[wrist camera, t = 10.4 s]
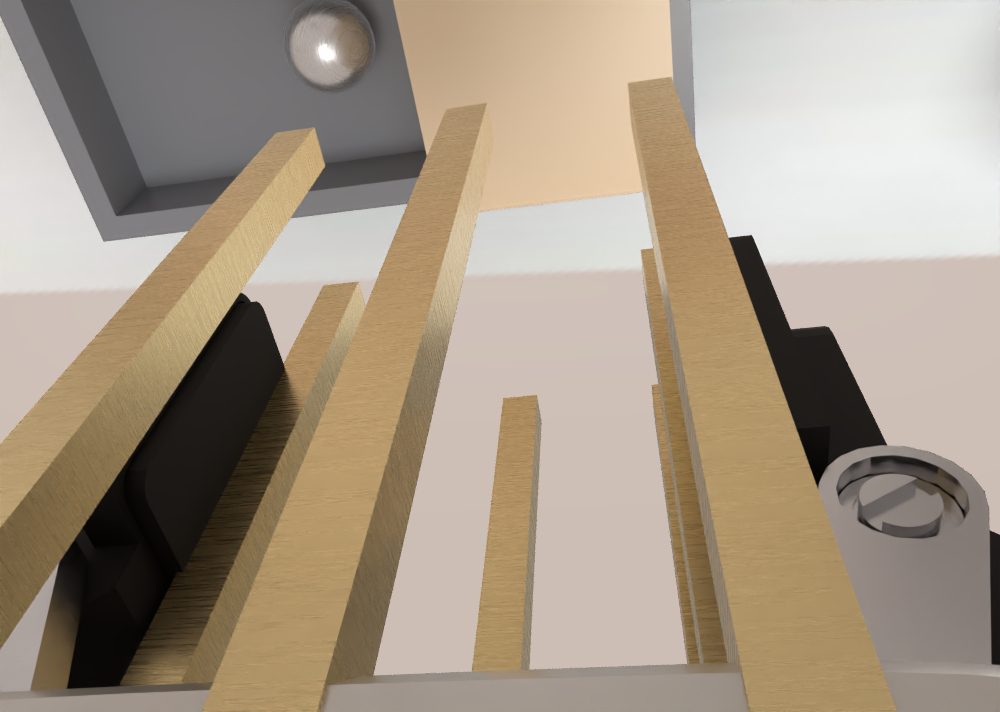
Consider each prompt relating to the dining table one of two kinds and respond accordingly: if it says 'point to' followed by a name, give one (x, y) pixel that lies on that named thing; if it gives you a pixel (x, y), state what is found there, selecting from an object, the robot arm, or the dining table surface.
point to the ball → (328, 45)
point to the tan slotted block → (402, 438)
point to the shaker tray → (341, 98)
